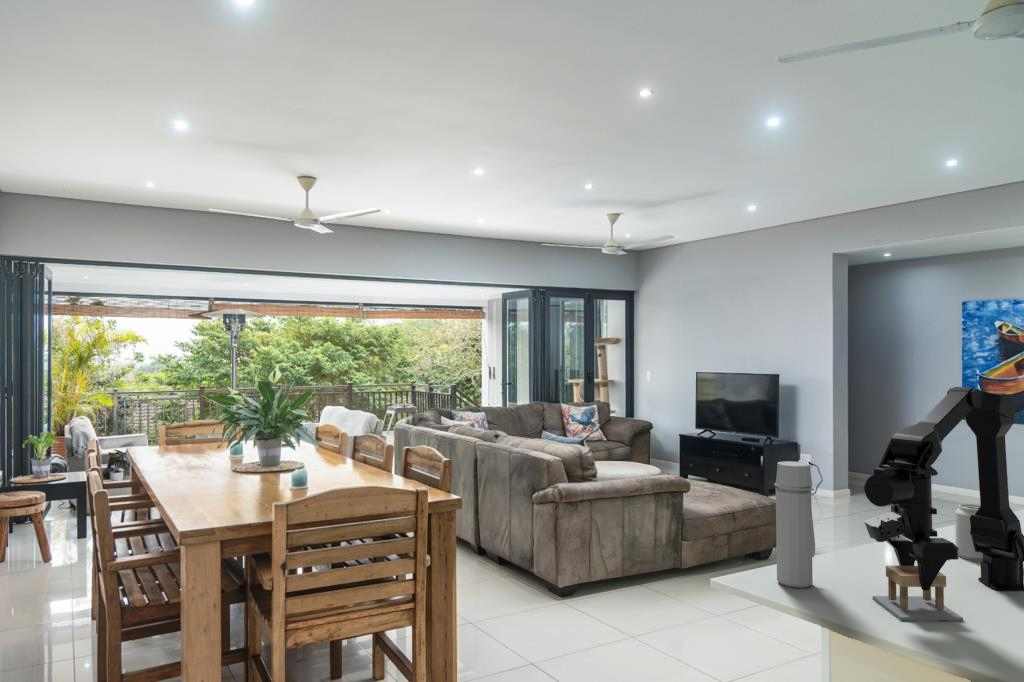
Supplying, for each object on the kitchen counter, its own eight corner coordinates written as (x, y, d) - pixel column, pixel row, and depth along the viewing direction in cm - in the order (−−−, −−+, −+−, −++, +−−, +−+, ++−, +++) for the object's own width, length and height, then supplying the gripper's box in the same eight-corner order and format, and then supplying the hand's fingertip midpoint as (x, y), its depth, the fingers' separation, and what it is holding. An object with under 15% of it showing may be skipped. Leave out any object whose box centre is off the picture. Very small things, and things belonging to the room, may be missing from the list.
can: (993, 555, 167) (992, 504, 167) (994, 564, 160) (993, 510, 161) (956, 551, 171) (955, 501, 171) (955, 559, 164) (954, 507, 165)
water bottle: (795, 591, 143) (794, 467, 144) (767, 580, 151) (765, 462, 151) (829, 585, 147) (827, 464, 147) (800, 574, 154) (798, 459, 155)
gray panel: (930, 599, 138) (930, 596, 138) (963, 621, 127) (963, 617, 127) (872, 599, 139) (872, 596, 139) (900, 620, 128) (900, 617, 128)
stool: (886, 597, 136) (885, 565, 136) (928, 598, 136) (928, 565, 136) (901, 609, 130) (901, 575, 130) (946, 610, 130) (946, 576, 130)
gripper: (849, 490, 143) (850, 568, 143) (894, 512, 124) (895, 601, 124) (906, 490, 143) (907, 568, 142) (959, 512, 124) (961, 601, 124)
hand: (915, 584), depth 133 cm, fingers open, 6 cm apart
